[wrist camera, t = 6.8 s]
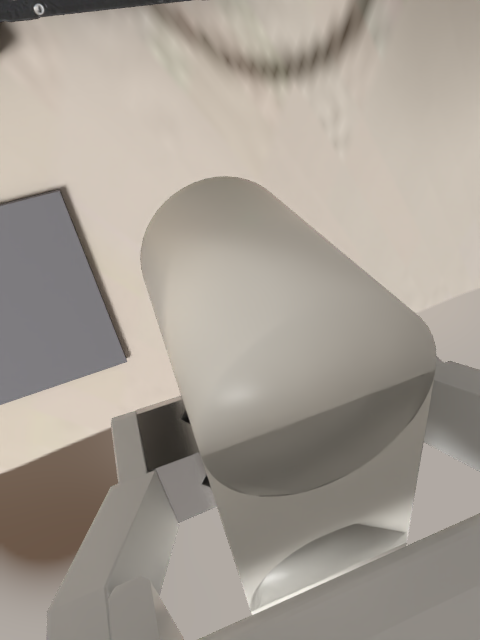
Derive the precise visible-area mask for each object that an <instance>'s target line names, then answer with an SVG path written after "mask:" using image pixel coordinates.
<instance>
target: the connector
mask: <svg viewBox="0 0 480 640" xmlns="http://www.w3.org/2000/svg"><path fill="white" fill-rule="evenodd" d="M140 260H141V270H142V274H143V278H144V281H145V284H146V287H147V291H148V294H149V297H150V300H151V303H152V306H153V309H154V312H155V316H156V319H157V322H158V325H159V328H160V331H161V334H162V337H163V341H164V344H165V347H166V350H167V353H168V356H169V359H170V362H171V365H172V369H173V372H174V375H175V378H176V381H177V384H178V387H179V390H180V394H181V396H182V399H183V402H184V405H185V409H186V412H187V415H188V418H189V421H190V424H191V427H192V430H193V433H194V436H195V440H196V443H197V446H198V449H199V452H200V455H201V458H202V461H203V464H204V468H205V471H206V474H207V477H208V480H209V483H210V486H211V489H212V493H213V496H214V499H215V502H216V505H217V509H218V512H219V514H220V518H221V521H222V524H223V527H224V530H225V533H226V536H227V539H228V543H229V546H230V549H231V552H232V555H233V558H234V561H235V564H236V567H237V570H238V573H239V577H240V580H241V583H242V586H243V589H244V592H245V595H246V599H247V602H248V604H249V608H250V611H251V613H252V615H254V614H256V613H258V612H260V611H263V610H265V609H267V608H269V607H271V606H274V605H276V604H278V603H280V602H283V601H285V600H287V599H289V598H292V597H294V596H296V595H298V594H300V593H303V592H305V591H307V590H309V589H312V588H314V587H316V586H318V585H321V584H323V583H325V582H327V581H330V580H332V579H334V578H336V577H338V576H341V575H343V574H345V573H347V572H350V571H352V570H354V569H356V568H359V567H361V566H363V565H365V564H368V563H370V562H372V561H374V560H376V559H379V558H381V557H383V556H385V555H388V554H390V553H392V552H394V551H397V550H399V549H401V548H403V547H406V544H407V538H408V532H409V526H410V520H411V514H412V508H413V502H414V496H415V490H416V484H417V478H418V472H419V466H420V460H421V454H422V448H423V442H424V436H425V430H426V424H427V418H428V412H429V406H430V400H431V394H432V388H433V382H434V376H435V370H436V359H437V357H436V346H435V342H434V339H433V336H432V334H431V332H430V330H429V328H428V326H427V325H426V324H425V322H424V321H423V320H422V319H421V318H420V317H419V316H418V315H417V314H416V313H414V312H413V311H412V310H411V309H410V308H408V307H407V306H406V305H405V304H404V303H402V302H401V301H400V300H399V299H398V298H396V297H395V296H394V295H393V294H392V293H390V292H389V291H388V290H387V289H386V288H384V287H383V286H382V285H381V284H380V283H378V282H377V281H376V280H375V279H374V278H372V277H371V276H370V275H369V274H368V273H366V272H365V271H364V270H363V269H362V268H360V267H359V266H358V265H357V264H356V263H354V262H353V261H352V260H351V259H350V258H348V257H347V256H346V255H345V254H344V253H342V252H341V251H340V250H339V249H338V248H336V247H335V246H334V245H333V244H332V243H330V242H329V241H328V240H327V239H326V238H324V237H323V236H322V235H321V234H320V233H318V232H317V231H316V230H315V229H314V228H312V227H311V226H310V225H309V224H308V223H306V222H305V221H304V220H303V219H302V218H300V217H299V216H298V215H297V214H296V213H294V212H293V211H292V210H291V209H290V208H288V207H287V206H286V205H285V204H284V203H282V202H281V201H280V200H279V199H278V198H276V197H275V196H274V195H273V194H272V193H270V192H269V191H268V190H267V189H265V188H264V187H262V186H260V185H259V184H257V183H255V182H252V181H250V180H247V179H242V178H238V177H228V176H225V177H213V178H208V179H204V180H201V181H198V182H195V183H192V184H190V185H188V186H186V187H184V188H183V189H181V190H179V191H178V192H176V193H175V194H174V195H172V196H171V197H170V198H169V199H168V200H167V201H165V203H164V204H163V205H162V206H161V207H160V208H159V209H158V210H157V212H156V213H155V215H154V216H153V218H152V219H151V221H150V223H149V225H148V227H147V229H146V232H145V235H144V237H143V241H142V246H141V257H140Z"/></svg>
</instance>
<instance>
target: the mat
mask: <svg viewBox="0 0 480 640" xmlns="http://www.w3.org/2000/svg"><path fill="white" fill-rule="evenodd" d="M125 362H127V360H126V357H125V354H124V352H123V349H122V347H121V344H120V342H119V339H118V337H117V334H116V332H115V329H114V327H113V324H112V321H111V319H110V316H109V314H108V311H107V309H106V306H105V304H104V301H103V299H102V296H101V294H100V291H99V289H98V286H97V283H96V281H95V278H94V276H93V273H92V271H91V268H90V266H89V263H88V261H87V258H86V256H85V253H84V251H83V248H82V245H81V243H80V240H79V238H78V235H77V233H76V230H75V228H74V225H73V223H72V220H71V218H70V215H69V213H68V210H67V207H66V205H65V202H64V200H63V197H62V195H61V192H60V190H59V189H58V190H54V191H50V192H46V193H42V194H38V195H34V196H31V197H27V198H23V199H19V200H15V201H11V202H7V203H3V204H0V405H1V404H4V403H7V402H10V401H13V400H16V399H19V398H22V397H25V396H28V395H31V394H34V393H37V392H40V391H43V390H46V389H49V388H51V387H54V386H57V385H60V384H63V383H66V382H69V381H72V380H75V379H78V378H81V377H84V376H87V375H90V374H93V373H96V372H99V371H101V370H104V369H107V368H110V367H113V366H116V365H119V364H122V363H125Z"/></svg>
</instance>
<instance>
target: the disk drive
mask: <svg viewBox="0 0 480 640" xmlns="http://www.w3.org/2000/svg"><path fill="white" fill-rule="evenodd" d="M182 1H191V0H0V22H3V21H8V22H15V21H24V20H33V19H38V18H40V17H46V16H54V15H65V14H73V13H82V12H91V11H100V10H108V9H117V8H126V7H135V6H145V5H153V4H162V3H172V2H182Z"/></svg>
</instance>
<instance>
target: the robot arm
mask: <svg viewBox="0 0 480 640" xmlns="http://www.w3.org/2000/svg"><path fill="white" fill-rule="evenodd" d="M436 357H437V356H436ZM111 428H112V436H113V444H114V452H115V460H116V468H117V476H118V484H116V485H114V486H111V488H110V490H109V492H108V494H107V496H106V497H105V500H104V501H103V503H102V505H101V507H100V509H99V511H98V513H97V515H96V517H95V519H94V521H93V523H92V525H91V527H90V529H89V531H88V533H87V535H86V537H85V539H84V541H83V543H82V544H81V546H80V549H79V550H78V552H77V554H76V556H75V558H74V560H73V562H72V564H71V566H70V568H69V570H68V572H67V574H66V576H65V578H64V580H63V582H62V584H61V586H60V588H59V590H58V592H57V594H56V595H55V598H54V599H53V601H52V603H51V605H50V607H49V609H48V611H47V640H184V639H183V636H182V634H181V633H180V631H179V629H178V628H177V626H176V624H175V622H174V621H173V619H172V617H171V616H170V614H169V612H168V610H167V609H166V607H165V605H164V604H163V602H162V600H161V599H160V597H159V595H160V592H161V589H162V585H163V582H164V577H165V574H166V571H167V567H168V564H169V560H170V556H171V553H172V549H173V546H174V542H175V539H176V535H177V532H178V528H179V524H178V523H180V522H182V521H184V520H187V519H189V518H191V517H194V516H196V515H198V514H201V513H203V512H205V511H207V510H210V509H212V508H215V507H217V505H216V502H215V499H214V496H213V493H212V489H211V486H210V483H209V480H208V477H207V474H206V471H205V468H204V464H203V461H202V458H201V455H200V452H199V449H198V446H197V443H196V440H195V436H194V433H193V430H192V427H191V424H190V421H189V418H188V415H187V412H186V409H185V405H184V402H183V399H182V396H179V397H176V398H172V399H169V400H166V401H163V402H160V403H157V404H154V405H150V406H147V407H144V408H141V409H138V410H136V411H133V412H130V413H127V414H124V415H121V416H117V417H114V418H112V422H111ZM424 442H425V443H426V444H428V445H430V446H432V447H434V448H436V449H438V450H440V451H441V452H443V453H445V454H447V455H449V456H451V457H453V458H455V459H457V460H458V461H460V462H462V463H464V464H466V465H468V466H470V467H472V468H473V469H475V470H477V471H479V472H480V370H479V369H475V368H472V367H469V366H465V365H462V364H459V363H455V362H452V361H448V362H445V363H444V362H442V361H441V360H440V359H439V358H438V357H437V359H436V370H435V376H434V382H433V388H432V394H431V400H430V406H429V412H428V418H427V424H426V430H425V436H424ZM198 640H480V513H479V514H477V515H475V516H473V517H470V518H468V519H466V520H464V521H462V522H459V523H457V524H455V525H452V526H450V527H448V528H446V529H444V530H441V531H439V532H437V533H435V534H432V535H430V536H428V537H426V538H423V539H421V540H419V541H417V542H414V543H412V544H410V545H408V546H406V547H403V548H401V549H399V550H397V551H394V552H392V553H390V554H388V555H385V556H383V557H381V558H379V559H376V560H374V561H372V562H370V563H368V564H365V565H363V566H361V567H359V568H356V569H354V570H352V571H350V572H347V573H345V574H343V575H341V576H338V577H336V578H334V579H332V580H330V581H327V582H325V583H323V584H321V585H318V586H316V587H314V588H312V589H309V590H307V591H305V592H303V593H300V594H298V595H296V596H294V597H292V598H289V599H287V600H285V601H283V602H280V603H278V604H276V605H274V606H271V607H269V608H267V609H265V610H263V611H260V612H258V613H256V614H254V615H251V616H249V617H247V618H245V619H243V620H240V621H238V622H236V623H234V624H231V625H229V626H227V627H225V628H222V629H220V630H218V631H216V632H213V633H212V634H209V635H207V636H205V637H202V638H200V639H198Z"/></svg>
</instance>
